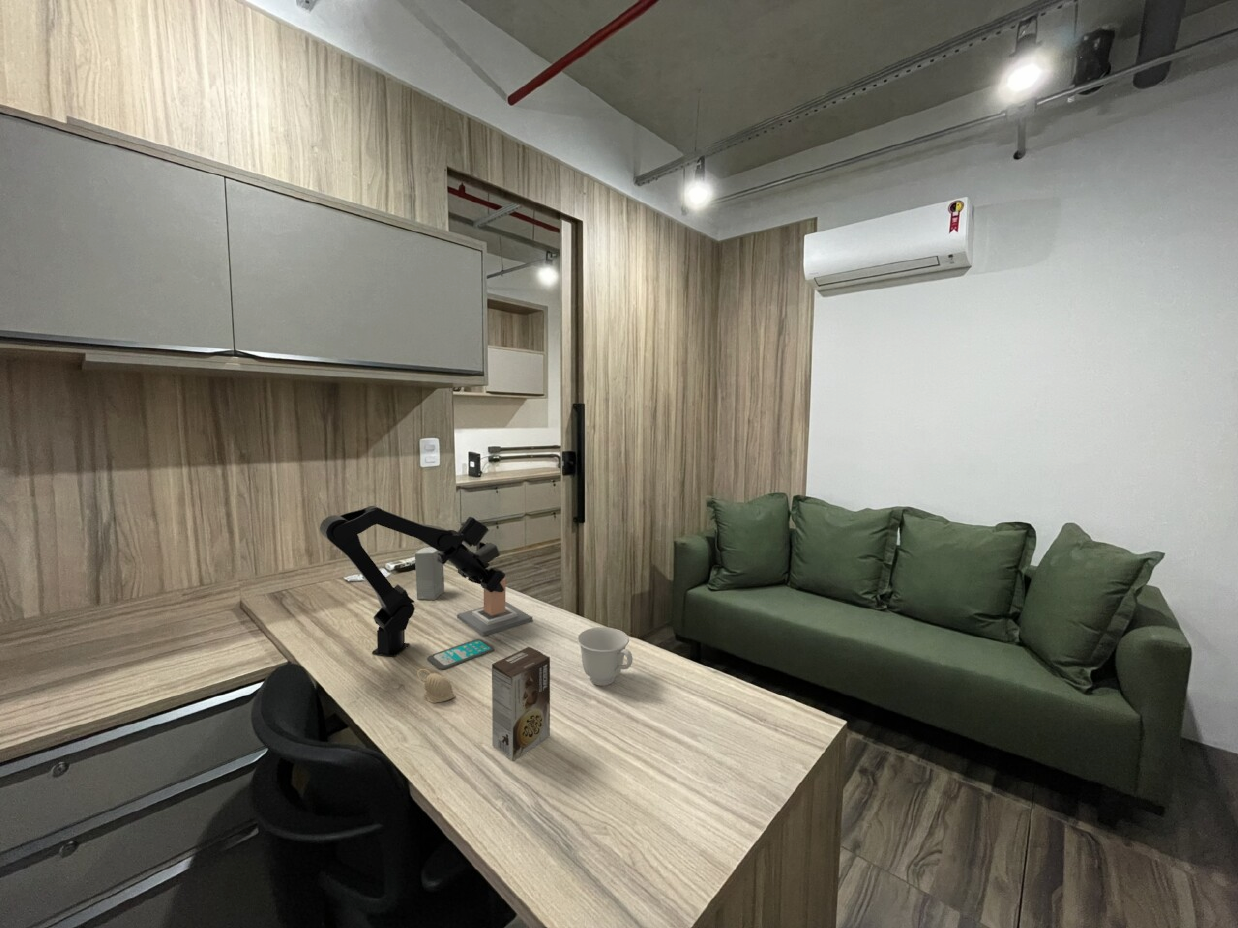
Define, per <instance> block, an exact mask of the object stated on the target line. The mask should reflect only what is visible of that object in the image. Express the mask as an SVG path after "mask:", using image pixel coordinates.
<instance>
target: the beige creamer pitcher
mask: <svg viewBox="0 0 1238 928" xmlns="http://www.w3.org/2000/svg"><path fill="white" fill-rule="evenodd" d="M420 672H425V673H426V674H427V677H426V678H424V677H422V676H421V674H420ZM416 676H417V679H419V681H421V682H423V683H424V689H425V691H424V696H425V699H426V700H427V701H428V702H430V703H433V704H436V703H442V702H445V701H448V700H450V699H453V698H455V697H456V695H455V694H454V692H453V688H452V685H451V683H450V682H449V680H447V678H446V677H444V676H443V675H440V674H438V673H432V672H431V671H430V670H428V669H427V668H420V669H418V670H417V672H416Z"/></svg>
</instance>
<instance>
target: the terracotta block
mask: <svg viewBox="0 0 1238 928" xmlns="http://www.w3.org/2000/svg"><path fill="white" fill-rule="evenodd" d="M506 581H507V580H506V578H505V577H504V578H503V580H502V581H501V582H500V583H501V585H502V587H503V588H504V591H503V592H497V591H493V592H489V591H487V590H485V589H484V588H483V607H484V611H485V612H486V613H488V614H490V615H491V616H492V615H495V614H499V613H502V612H505V602H506V591H507V590H506V584H507V583H506Z"/></svg>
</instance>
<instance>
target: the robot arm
mask: <svg viewBox="0 0 1238 928" xmlns="http://www.w3.org/2000/svg"><path fill="white" fill-rule="evenodd" d="M376 525H378V526H381V527H384V528H387V529H389V530H392V531H396V532H398V533H401V534H404V535H406V536H410V537H412V538H415V539H417V540H418V541H420V542H422V543H424V544H425V545H427V546H429V547H432V548H434V549H436V550H438V551H441V553H438V558H437V561H438V562H439V563H441V564H443V565H445V564H446V563H447V561H448V562H449V563H451V565H453V566H454V567H455V568H456V569H457V574H458V575H460V576H461V577H463V578H464V579H467V580H468V581H470V582H472V583H475V584H477V585H480V587H481V588H482V589H483V590H484V589H485V590H487V591H489V592H493V591H497V592H503V591H504V588H503V587H502V585H501V583H500V582H501V581H502V580H503V578H505V577H506V573H504V572H503V571H502V570H501V569H499V568H497V567H491V568H490V569H488V568H489V567H490V565H491V564H490V562H491V561H493V560H495V559H496V558H499V557H500V556H501V553H500V551H499V548H498V546H497V545H496V544H494V543H492V542H486V543H484V542H482V540H483V539H484V537H485V536H486V535H487V534H488V533H489V531H490V530H489V528H488V527H487V526H486V525H485V524H483V523H481V522H480V521H478V520H477V519H475V518H474V517H472V516H469V517H468V518H467V519H466V521H465V522H464V523H463V525H462V526H461V527H460V529H458V531H457V530H455V529H446V528H444V527H441V526H436V525H430V524H423V523H418V522H416V521H414V520H411V519H408V518H405V517H402V516H400V515H397V514H395V513H393V512H389V511H386V510H384V509H383V508H381V507H378V506H377V505H369V506H366V507H365V508H364V507H363V508H361V509H358V510H354V511H351V512H346V513H343V514H341V515H336V514H335V515H329V516H327V517H325V519H323V520H322V521H321V523H320V526H319V532H320V533H321V535H322V536H323V537H324V538H325V539H326V540H328V541H329V542H330V543H331V544H333V546H334V547H336V548H337V549H339V550H340V551H341V552H342V553H343V554H344V555H345V556H346V557H347V559H348V561H350V562H351V564H352V565H353V566H354V568H355V569H356V570H357V572H359V575H361V576H362V577H363V579H364V580H365V581H366V582H367V584H368V586H370V587H371V589H372V590H373V591H374V593H375V594H376V596H377V599H378V602H379V604H380V608H379V610H378V611H377V612H376V613H375V615H373V620H374V622H375V624H377V626H378V629H377V630H376V632H377V633H376V634H377V635H376V638H377V641H376V642H377V643H376V644H377V647H376V648H375V649H374V650H372V654H373V655H378V656H387V657H396V656H397V655H399V654H400V653H402V652H403V651H404V650H405V649H407V648H408V647H409V646H410V642H405V635H406V634H405V632H406V631H405V630H407V627H408V624H409V622H410V619H411V618H412V617H413V615H414V613H415V609H416V608H415V606H414V604H413V603H415V600H413V599H412V598H411V597H410V596H409V593H408V592H407V590H406V589H404V588H403V587H402V586H401V585H399V584H396V585H395V586H394V587H393V585H392V583H390V581H389V580H388V579H387V577H386V575H384V573H383V572H382V571H381V570H380V568H379V567H378V565H376V563H375V561H373V559H372V558H371V557H370V555H369V554H368V553H367V551H366V550H365V549H364V548H363V546H362V543H361V540H360V537H359V534H362V533H363V532H365V531H367V530H368V529H370V528H371V527H373V526H376ZM467 546H468V547H469V548H471V547H473V548H474V547H475V548H476V549H475V552H473V551H472V550H470V549H469V548H468V547H467Z"/></svg>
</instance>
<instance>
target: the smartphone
mask: <svg viewBox="0 0 1238 928" xmlns="http://www.w3.org/2000/svg"><path fill="white" fill-rule="evenodd" d="M494 650H495V647H494V646H492V645H491V644H489V643H488V642H486V641H485V640H483V639H482V638H476V639H472V640H470V641H467V642H464V643H462V644H459V645H456V646H452V647H450V648H449V647H448V648H447V649H444V650H441V651H439V652H435V653H433V654H429V655H428V656H426V660H427V662H428V663H430V664H431V665H432V666H433V667H435V668H436V669H437V670H439V671H445V670H448V669H451V668H453V667H456V666H458V665H461V664H464V663H467V662H470V661H471V660H474V659H477V658H480V657H484V656H486V655H488V654H490V653H492V652H494Z"/></svg>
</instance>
